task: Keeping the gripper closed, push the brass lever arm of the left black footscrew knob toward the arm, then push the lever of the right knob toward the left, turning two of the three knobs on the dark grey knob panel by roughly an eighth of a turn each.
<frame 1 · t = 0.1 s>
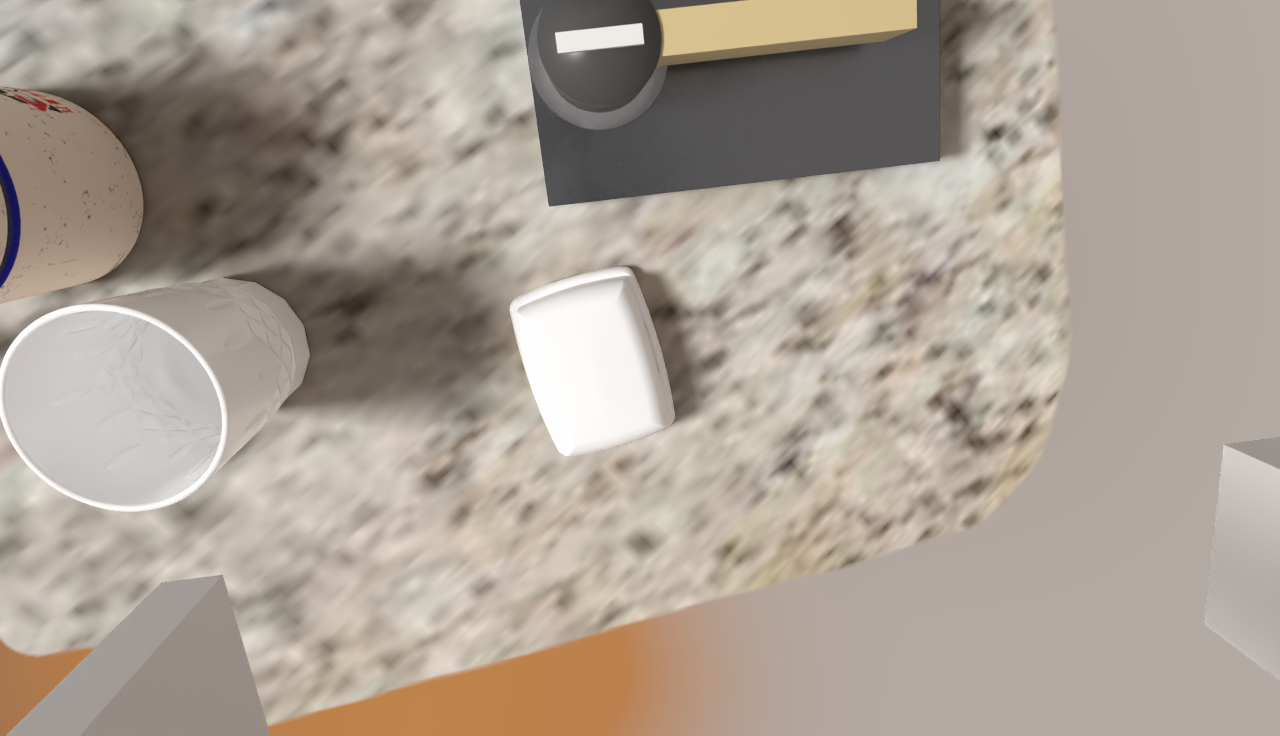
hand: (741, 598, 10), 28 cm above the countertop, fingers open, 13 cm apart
white cup: (241, 345, 37), on the countertop
knob B: (720, 34, 30), point 5 cm above the countertop, hinge at 0.0°
soap: (594, 358, 38), on the countertop
teacup with lid: (21, 198, 34), on the countertop
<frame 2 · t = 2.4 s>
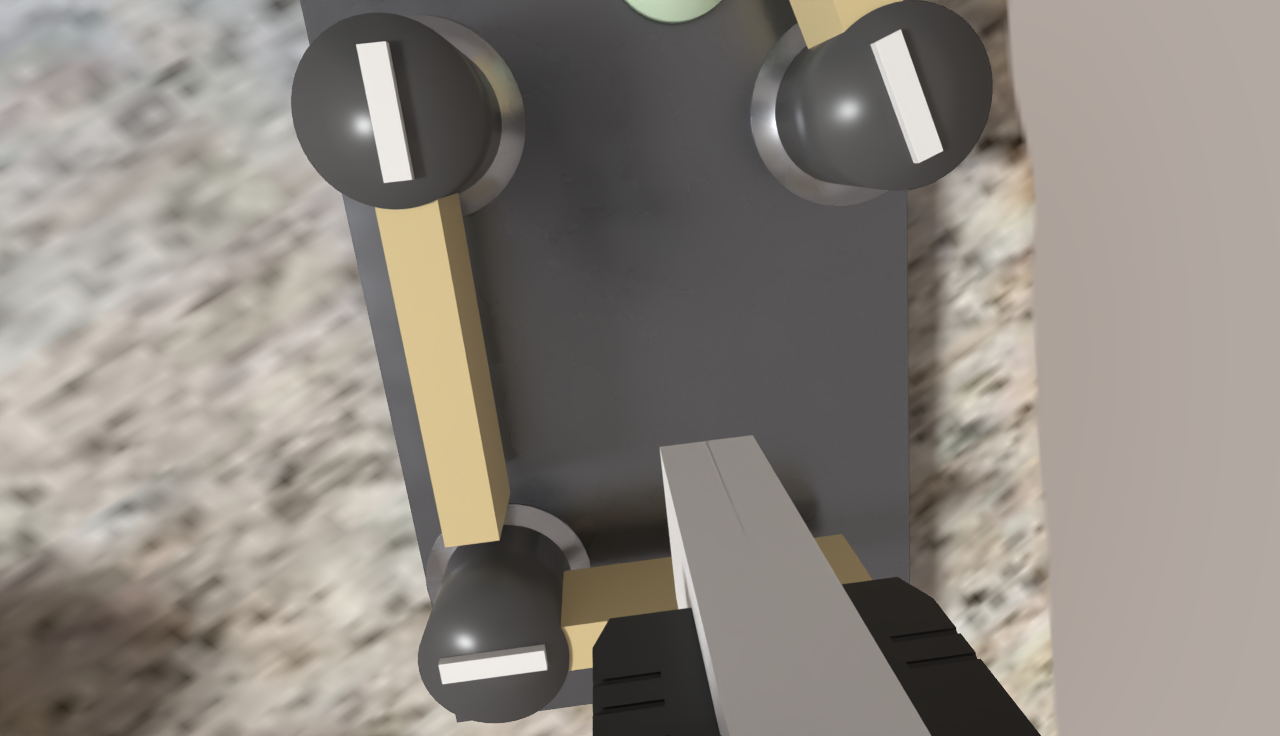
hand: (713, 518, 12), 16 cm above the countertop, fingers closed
knob A: (440, 292, 22), point 5 cm above the countertop, hinge at 0.0°
knob B: (645, 601, 25), point 5 cm above the countertop, hinge at 0.0°
dark grey knob panel: (644, 334, 27), on the countertop
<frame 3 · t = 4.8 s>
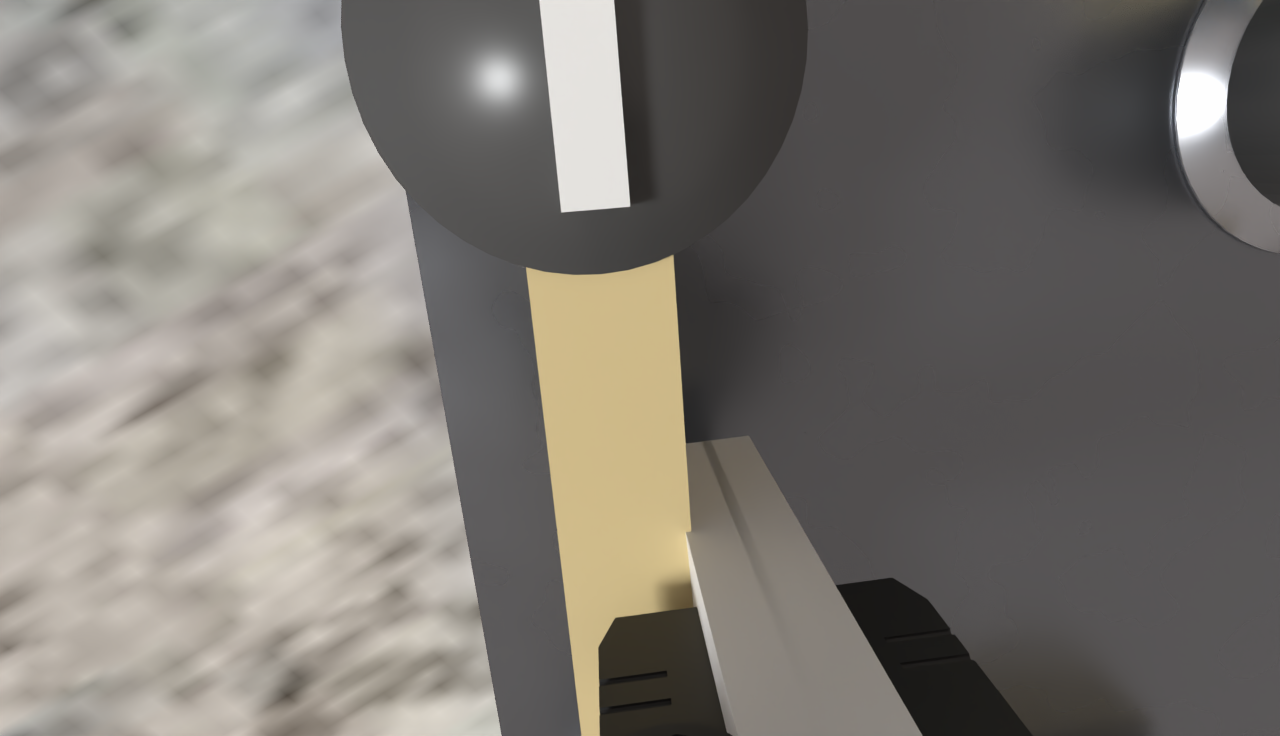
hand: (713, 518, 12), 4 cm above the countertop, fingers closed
knob A: (613, 431, 11), point 5 cm above the countertop, hinge at -1.1°, touching gripper
dark grey knob panel: (897, 460, 16), on the countertop
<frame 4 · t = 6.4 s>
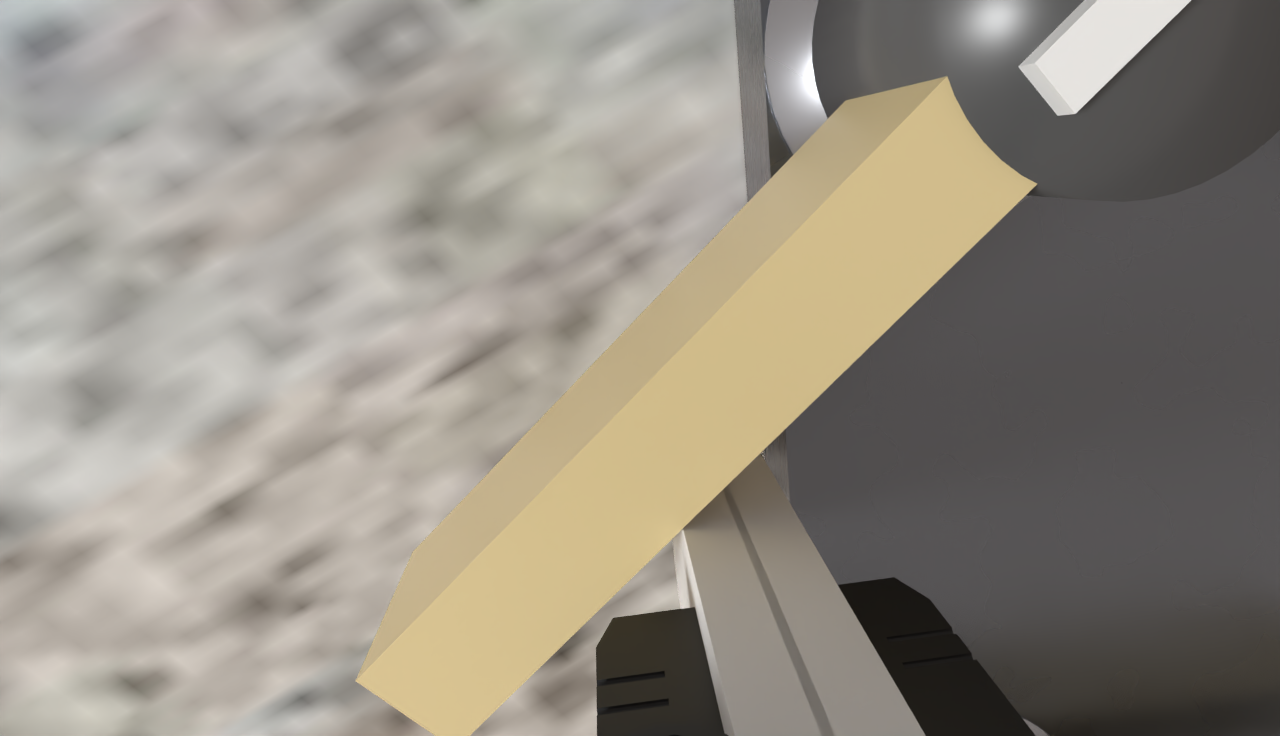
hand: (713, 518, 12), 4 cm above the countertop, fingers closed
knob A: (771, 284, 10), point 5 cm above the countertop, hinge at -50.0°, touching gripper
dark grey knob panel: (1166, 416, 16), on the countertop
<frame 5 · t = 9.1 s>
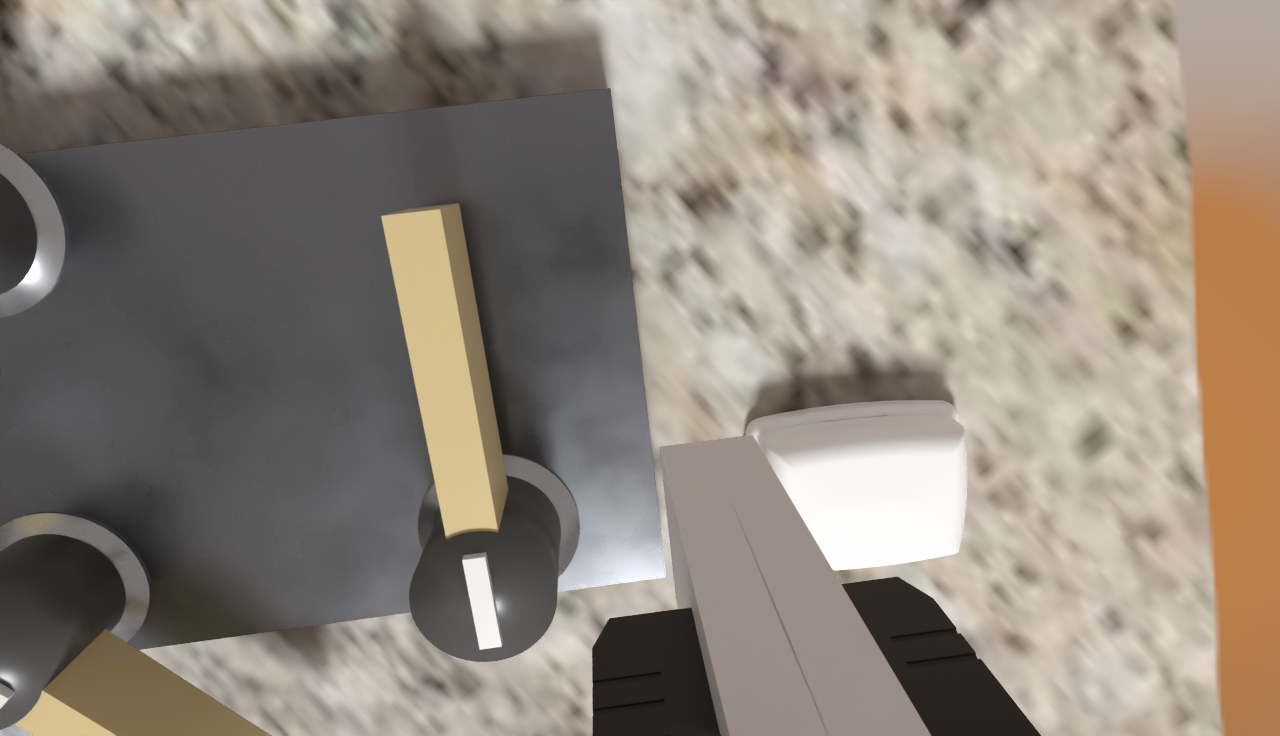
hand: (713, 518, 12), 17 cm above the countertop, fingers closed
knob A: (138, 709, 26), point 5 cm above the countertop, hinge at -50.1°
knob B: (466, 432, 24), point 5 cm above the countertop, hinge at 0.0°
soap: (845, 476, 31), on the countertop
dark grey knob panel: (266, 388, 28), on the countertop
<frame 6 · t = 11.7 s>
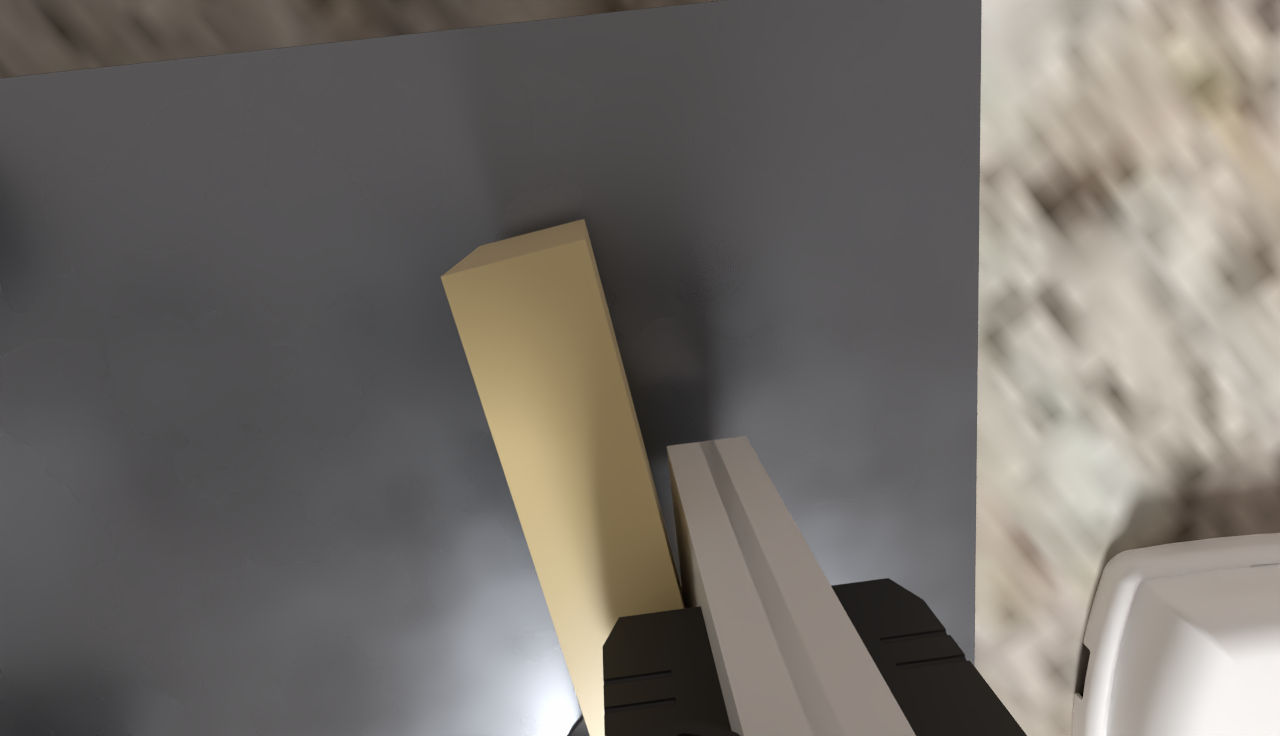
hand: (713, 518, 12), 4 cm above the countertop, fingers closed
knob B: (653, 682, 12), point 5 cm above the countertop, hinge at 7.6°, touching gripper
soap: (1233, 643, 19), on the countertop
dark grey knob panel: (279, 537, 16), on the countertop
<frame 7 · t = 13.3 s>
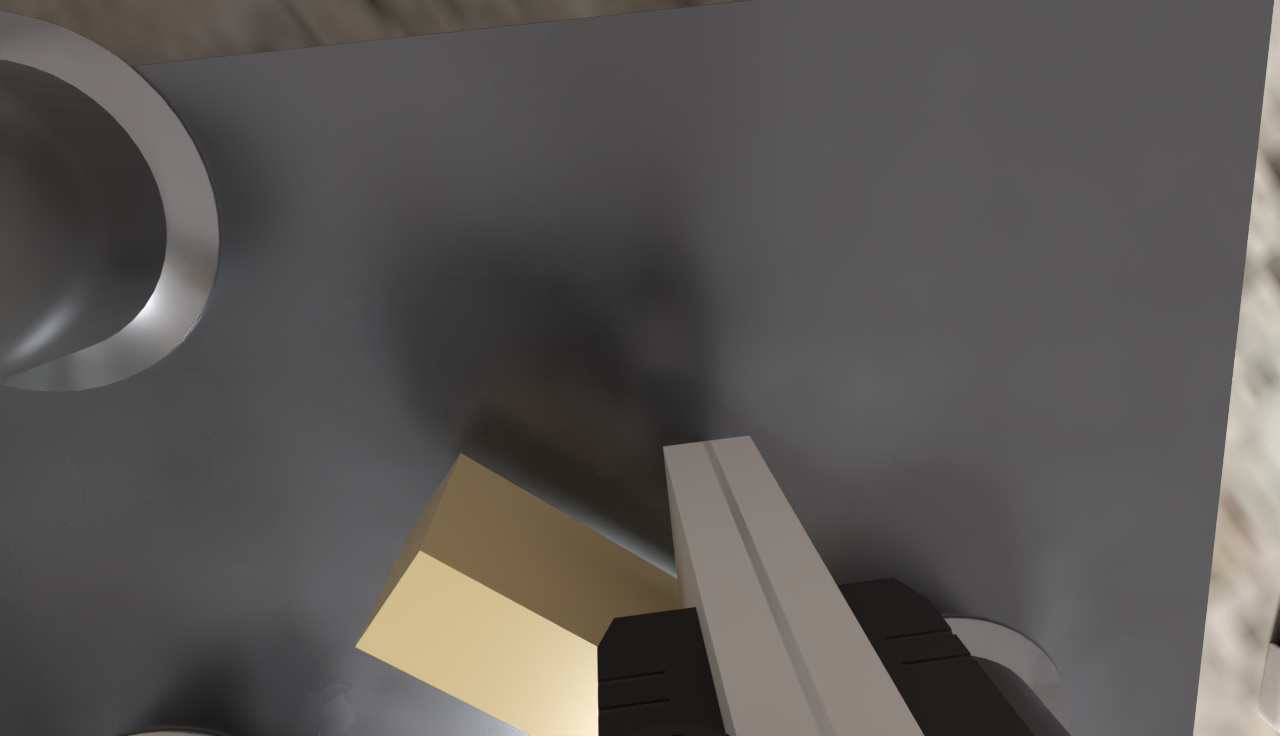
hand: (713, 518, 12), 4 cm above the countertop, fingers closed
knob B: (791, 730, 13), point 5 cm above the countertop, hinge at 49.2°, touching gripper
dark grey knob panel: (530, 495, 16), on the countertop
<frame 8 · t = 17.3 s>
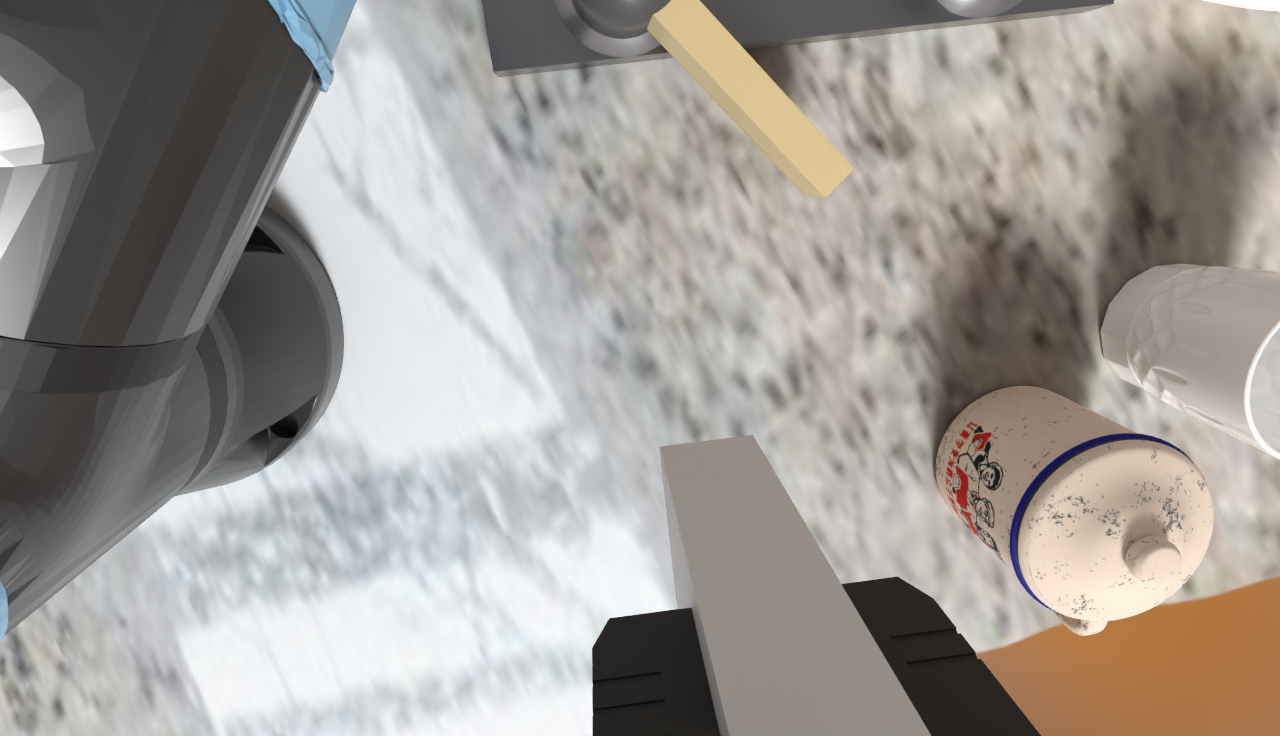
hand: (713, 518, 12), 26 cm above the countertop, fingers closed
knob A: (709, 58, 31), point 5 cm above the countertop, hinge at -50.1°
white cup: (1156, 324, 40), on the countertop
teacup with lid: (1008, 479, 42), on the countertop
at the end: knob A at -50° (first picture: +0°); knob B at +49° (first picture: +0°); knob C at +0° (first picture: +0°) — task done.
